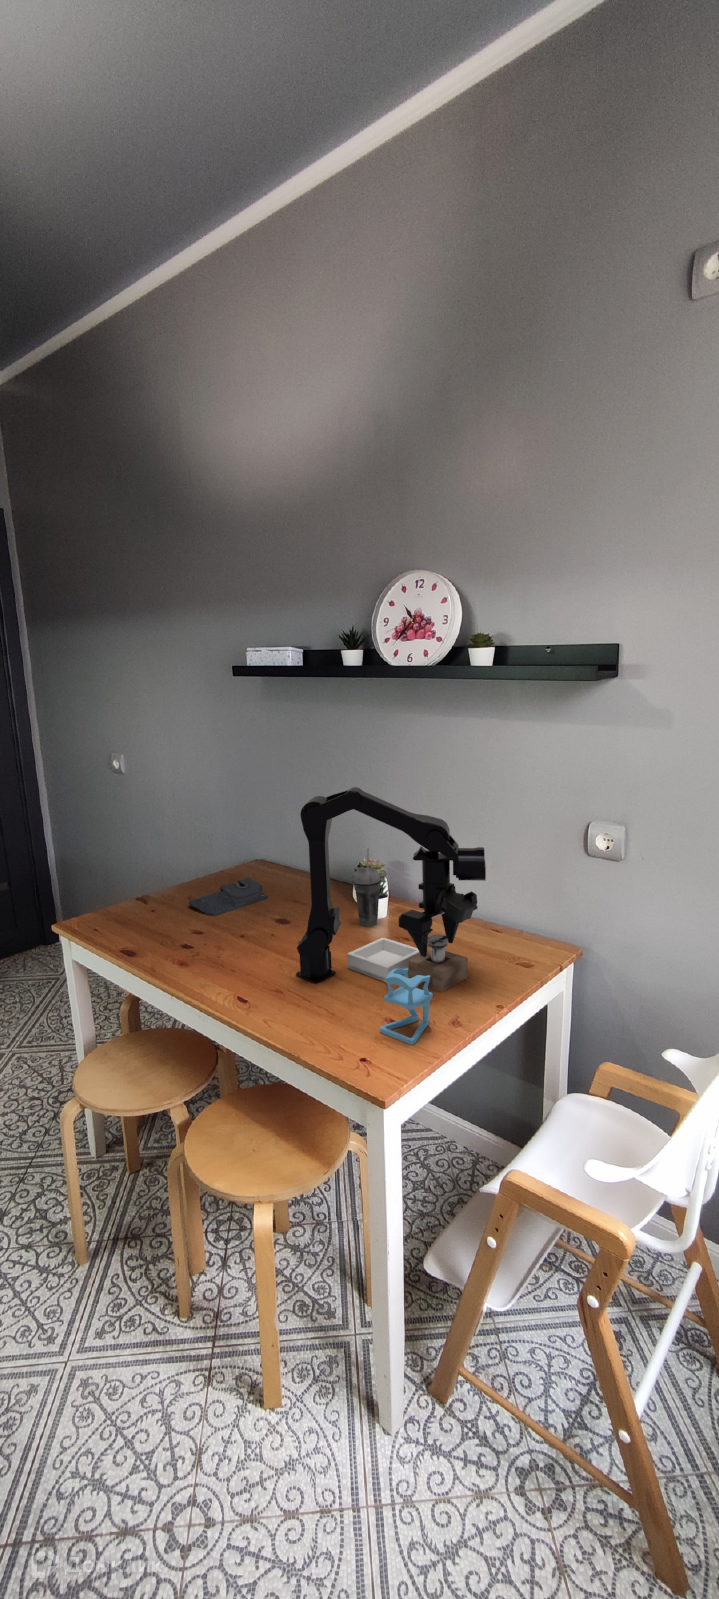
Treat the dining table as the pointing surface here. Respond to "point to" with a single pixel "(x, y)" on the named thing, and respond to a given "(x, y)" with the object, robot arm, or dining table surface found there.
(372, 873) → the beverage cup
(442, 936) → the lock pin
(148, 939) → the dining table surface
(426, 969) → the block
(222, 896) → the grey stepped plate
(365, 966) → the tray
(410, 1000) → the chair
